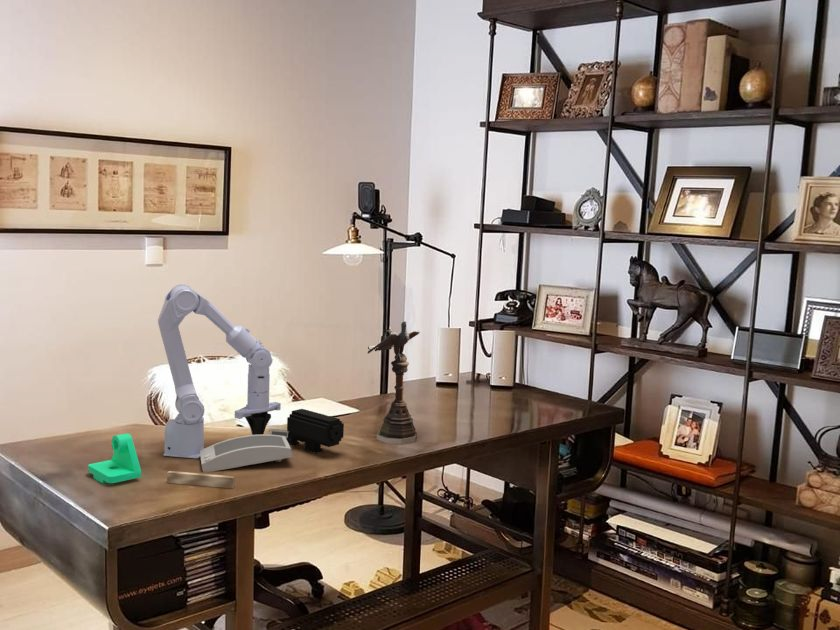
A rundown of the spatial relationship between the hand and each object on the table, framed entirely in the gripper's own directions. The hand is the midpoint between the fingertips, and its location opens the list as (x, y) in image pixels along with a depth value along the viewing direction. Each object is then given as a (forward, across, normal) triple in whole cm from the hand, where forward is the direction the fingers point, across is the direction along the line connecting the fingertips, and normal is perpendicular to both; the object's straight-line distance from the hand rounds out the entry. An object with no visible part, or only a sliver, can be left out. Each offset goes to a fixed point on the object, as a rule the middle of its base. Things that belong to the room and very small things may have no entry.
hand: (257, 440), depth 227 cm
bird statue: (+3, -34, +18) cm, 39 cm away
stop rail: (+2, +29, +12) cm, 31 cm away
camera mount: (+3, +40, -6) cm, 40 cm away
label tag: (+2, -9, -1) cm, 10 cm away
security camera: (+3, -10, +11) cm, 15 cm away
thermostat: (+3, +10, +7) cm, 13 cm away
